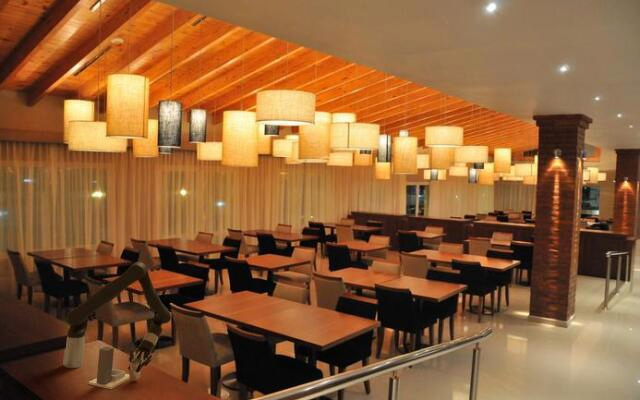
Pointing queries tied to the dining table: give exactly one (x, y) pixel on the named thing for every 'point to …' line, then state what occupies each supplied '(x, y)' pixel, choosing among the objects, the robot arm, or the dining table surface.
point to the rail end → (134, 369)
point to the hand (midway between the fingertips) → (133, 371)
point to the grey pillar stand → (108, 371)
